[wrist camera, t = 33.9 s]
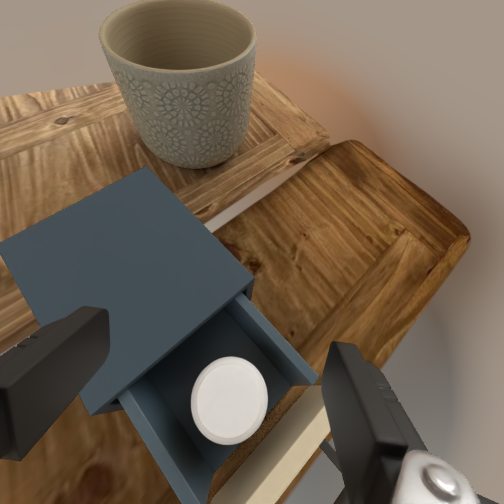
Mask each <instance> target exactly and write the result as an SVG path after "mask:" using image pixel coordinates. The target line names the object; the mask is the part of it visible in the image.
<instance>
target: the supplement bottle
mask: <svg viewBox="0 0 504 504" xmlns="http://www.w3.org/2000/svg"><path fill="white" fill-rule="evenodd" d="M267 404H268V394H267V388H266V384H265V381H264V379H263V377H262V375H261V373H260V372H259V371H258V369H257V368H256V367H255V366H254V365H253V364H251V363H250V362H248V361H247V360H244V359H242V358H239V357H223V358H220V359H217V360H215V361H213V362H212V363H210V364H209V365H208V366H207V367H205V368H204V370H203V371H202V372H201V373H200V375H199V376H198V378H197V380H196V382H195V384H194V387H193V390H192V395H191V411H192V416H193V419H194V422H195V424H196V426H197V427H198V429H199V430H200V432H201V433H202V434H203V435H204V436H205V437H206V438H208V439H209V440H211V441H213V442H215V443H218V444H222V445H233V444H237V443H240V442H242V441H244V440H246V439H248V438H249V437H250V436H251V435H253V434H254V433H255V432H256V430H257V429H258V428H259V427H260V425H261V423H262V421H263V419H264V417H265V414H266V410H267Z"/></svg>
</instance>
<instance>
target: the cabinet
mask: <svg viewBox="0 0 504 504" xmlns="http://www.w3.org/2000/svg"><path fill="white" fill-rule="evenodd" d="M0 255H1V256H2V258H3V260H4V262H5V264H6V265H7V267H8V269H9V271H10V273H11V274H12V276H13V278H14V280H15V282H16V283H17V285H18V287H19V289H20V291H21V292H22V294H23V296H24V298H25V300H26V301H27V303H28V305H29V307H30V308H31V310H32V312H33V314H34V316H35V317H36V319H37V321H38V323H39V325H40V326H41V328H42V327H43V326H45V325H47V324H50V323H52V322H54V321H57V320H59V319H62V318H66V317H67V316H69V315H70V314H71V313H73V312H74V311H76V310H77V309H78V308H80V307H82V306H89V307H96V308H103V309H107V310H108V312H109V327H110V351H109V354H108V357H107V359H106V361H105V363H104V364H103V365H102V366H101V368H100V369H99V370H98V371H97V372H96V374H95V375H94V376H93V377H92V378H91V379H90V381H89V382H88V383H87V384H86V385H85V386H84V388H83V389H82V390H81V391H80V392H79V393H78V395H79V396H80V398H81V400H82V402H83V403H84V405H85V407H86V409H87V411H88V412H89V414H90V416H92V415H97V414H102V413H108V412H113V411H118V410H123V409H124V408H123V407H122V405H121V403H120V402H119V400H118V399H117V397H118V396H119V395H120V394H122V393H123V392H124V391H125V390H126V389H128V388H129V387H130V386H131V385H132V384H133V383H135V382H136V381H137V380H138V379H139V378H141V377H142V376H143V375H144V374H145V373H146V372H148V371H149V370H150V369H151V368H152V367H154V366H155V365H156V364H157V363H158V362H159V361H161V360H162V359H163V358H164V357H165V356H167V355H168V354H169V353H170V352H171V351H173V350H174V349H175V348H176V347H177V346H178V345H180V344H181V343H182V342H183V341H184V340H186V339H187V338H188V337H189V336H190V335H191V334H193V333H194V332H195V331H196V330H197V329H199V328H200V327H201V326H202V325H203V324H204V323H206V322H207V321H208V320H209V319H210V318H212V317H213V316H214V315H215V314H216V313H217V312H219V311H220V310H221V309H222V308H223V307H225V306H226V305H227V304H228V303H229V302H230V301H232V300H233V299H234V298H235V297H236V296H238V295H239V294H240V293H241V292H242V293H243V294H244V295H245V296H246V297H247V299H248V300H249V301H251V296H252V290H253V284H254V279H255V278H254V276H253V275H252V274H251V273H250V272H249V271H248V270H247V269H246V268H245V267H244V266H243V265H242V264H241V263H240V262H239V261H238V260H237V259H236V258H235V257H234V256H233V255H232V254H231V253H230V252H229V251H228V250H227V249H226V248H225V247H224V246H223V244H222V243H221V242H220V241H219V240H218V239H217V238H216V237H215V236H214V235H213V234H212V233H211V232H210V231H209V230H208V229H207V228H206V227H205V226H204V225H203V224H202V223H201V222H200V221H199V220H198V219H197V218H196V217H195V216H194V215H193V214H192V212H191V211H190V210H189V209H188V208H187V207H186V206H185V205H184V204H183V203H182V202H181V201H180V200H179V199H178V198H177V197H176V196H175V195H174V194H173V193H172V192H171V191H170V190H169V189H168V188H167V187H166V186H165V185H164V184H163V183H162V182H161V180H160V179H159V178H158V177H157V176H156V175H155V174H154V173H153V172H152V171H151V170H150V169H149V168H148V167H147V166H145V167H143V168H141V169H139V170H138V171H136V172H134V173H132V174H130V175H128V176H126V177H124V178H122V179H120V180H119V181H117V182H115V183H113V184H111V185H109V186H107V187H105V188H103V189H101V190H99V191H98V192H96V193H94V194H92V195H90V196H88V197H86V198H84V199H82V200H80V201H79V202H77V203H75V204H73V205H71V206H69V207H67V208H65V209H63V210H61V211H59V212H58V213H56V214H54V215H52V216H50V217H48V218H46V219H44V220H42V221H40V222H39V223H37V224H35V225H33V226H31V227H29V228H27V229H25V230H23V231H21V232H20V233H18V234H16V235H14V236H12V237H10V238H8V239H6V240H4V241H2V242H0Z"/></svg>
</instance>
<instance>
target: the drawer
mask: <svg viewBox="0 0 504 504" xmlns="http://www.w3.org/2000/svg"><path fill="white" fill-rule="evenodd" d="M223 357H239V358H242V359H244V360H247V361H248V362H250V363H251V364H253V365H254V366H255V367H256V368H257V369H258V371H259V372H260V373H261V375H262V377H263V379H264V381H265V384H266V388H267V394H268V404H267V410H266V414H267V413H268V412H269V411H270V410H271V409H272V408H273V407H274V406H275V404H276V403H277V402H278V401H279V400H280V399H281V398H282V397H283V395H284V394H285V393H286V392H287V391H288V390H289V389H290V388H291V387H292V386H300V385H313V384H314V383H315V382H316V381H317V380H318V378H319V375H318V374H317V373H316V372H315V371H314V370H313V369H312V368H311V367H310V366H309V365H308V363H307V362H306V361H305V360H304V359H303V358H302V357H301V356H300V355H299V354H298V353H297V352H296V350H295V349H294V348H293V347H292V346H291V345H290V344H289V343H288V342H287V341H286V340H285V339H284V338H283V336H282V335H281V334H280V333H279V332H278V331H277V330H276V329H275V328H274V327H273V326H272V325H271V323H270V322H269V321H268V320H267V319H266V318H265V317H264V316H263V315H262V314H261V313H260V312H259V310H258V309H257V308H256V307H255V306H254V305H253V304H252V303H251V302H250V301H249V300H248V299H247V297H246V296H245V295H244V294H243V293H242V292H241V293H240V294H239V295H238V296H236V297H235V298H234V299H233V300H232V301H230V302H229V303H228V304H227V305H226V306H225V307H223V308H222V309H221V310H220V311H219V312H217V313H216V314H215V315H214V316H213V317H212V318H210V319H209V320H208V321H207V322H206V323H204V324H203V325H202V326H201V327H200V328H199V329H197V330H196V331H195V332H194V333H193V334H191V335H190V336H189V337H188V338H187V339H186V340H184V341H183V342H182V343H181V344H180V345H178V346H177V347H176V348H175V349H174V350H173V351H171V352H170V353H169V354H168V355H167V356H165V357H164V358H163V359H162V360H161V361H159V362H158V363H157V364H156V365H155V366H154V367H152V368H151V369H150V370H149V371H148V372H146V373H145V374H144V375H143V376H142V377H141V378H139V379H138V380H137V381H136V382H135V383H133V384H132V385H131V386H130V387H129V388H128V389H126V390H125V391H124V392H123V393H122V394H120V395H119V396H118V397H117V399H118V400H119V402H120V403H121V405H122V407H123V408H124V410H125V412H126V413H127V415H128V417H129V418H130V420H131V421H132V423H133V425H134V426H135V428H136V430H137V431H138V433H139V435H140V436H141V438H142V440H143V441H144V443H145V444H146V446H147V448H148V449H149V451H150V453H151V454H152V456H153V458H154V459H155V461H156V462H157V464H158V466H159V467H160V469H161V471H162V472H163V474H164V476H165V477H166V479H167V481H168V482H169V484H170V485H171V487H172V489H173V490H174V492H175V494H176V495H177V497H178V499H179V500H180V502H181V503H182V504H206V502H207V498H208V494H209V490H210V487H211V483H212V479H213V475H214V473H215V471H216V470H217V469H218V468H219V467H220V466H221V465H222V464H223V463H224V461H225V460H226V459H227V458H228V457H229V456H230V455H231V454H232V452H233V451H234V450H235V449H236V448H237V447H238V446H239V445H240V444H241V442H240V443H237V444H233V445H222V444H218V443H215V442H213V441H211V440H209V439H208V438H206V437H205V436H204V435H203V434H202V433H201V432H200V430H199V429H198V427H197V426H196V424H195V422H194V419H193V416H192V411H191V395H192V390H193V387H194V384H195V382H196V380H197V378H198V376H199V375H200V373H201V372H202V371H203V370H204V368H205V367H207V366H208V365H209V364H210V363H212V362H213V361H215V360H217V359H220V358H223ZM266 414H265V416H266ZM330 431H331V429H330V425H329V421H328V417H327V413H326V409H325V405H324V401H323V397H322V391H321V386H309V387H308V388H307V389H306V390H305V392H304V393H303V394H302V395H301V396H300V397H299V399H298V400H297V401H296V402H295V403H294V404H293V406H292V407H291V408H290V409H289V410H288V411H287V412H286V414H285V415H284V416H283V417H282V418H281V419H280V421H279V422H278V423H277V424H276V425H275V426H274V428H273V429H272V430H271V431H270V432H269V433H268V434H267V436H266V437H265V438H264V439H263V440H262V441H261V443H260V444H259V445H258V446H257V447H256V448H255V450H254V451H253V452H252V453H251V454H250V455H249V456H248V458H247V459H246V460H245V461H244V462H243V463H242V465H241V466H240V467H239V468H238V469H237V470H236V472H235V473H234V474H233V475H232V476H231V477H230V479H229V480H228V481H227V482H226V483H225V484H224V485H223V487H222V488H221V489H220V490H219V491H218V492H217V494H216V495H215V496H214V497H213V498H212V500H211V504H275V503H276V501H277V500H278V499H279V498H280V496H281V495H282V494H283V492H284V491H285V490H286V488H287V487H288V486H289V484H290V483H291V482H292V481H293V479H294V478H295V477H296V475H297V474H298V473H299V471H300V470H301V469H302V467H303V466H304V465H305V463H306V462H307V461H308V460H309V458H310V457H311V456H312V454H313V453H314V452H315V450H316V449H317V448H318V446H319V447H320V448H321V449H322V450H323V451H324V453H325V454H326V455H327V456H328V457H329V459H330V460H331V461H332V462H333V463H334V465H335V466H336V467H337V468H338V469H339V471H341V468H340V465H339V461H338V457H337V453H336V452H335V450H334V449H333V448H332V447H331V446H330V444H329V443H328V442H327V441H326V440H325V437H326V436H327V435H328V433H329V432H330ZM341 473H342V472H341ZM334 504H349V500H348V496H347V492H346V488H345V487H344V489H343V490H342V492H341V493H340V495H339V496H338V498H337V499H336V501H335V502H334Z"/></svg>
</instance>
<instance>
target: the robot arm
mask: <svg viewBox="0 0 504 504" xmlns="http://www.w3.org/2000/svg"><path fill="white" fill-rule="evenodd" d="M109 351H110V327H109V312H108V310H107V309H103V308H96V307H89V306H82V307H80V308H78V309H77V310H76V311H74V312H73V313H71V314H70V315H69V316H67V317H66V318H62V319H59V320H57V321H54V322H52V323H50V324H47V325H45V326H43V327H42V328H41V329H39V330H38V331H36V332H35V333H33V334H32V335H30V338H26V339H25V340H23V341H22V342H20V343H19V344H17V347H13V348H11V349H10V350H9V351H7V352H6V353H4V354H3V355H1V356H0V459H8V460H15V461H21V460H22V459H23V458H24V457H25V456H26V454H27V453H28V452H29V451H30V450H31V449H32V447H33V446H34V445H35V444H36V443H37V442H38V440H39V439H40V438H41V437H42V436H43V435H44V433H45V432H46V431H47V430H48V429H49V427H50V426H51V425H52V424H53V423H54V422H55V420H56V419H57V418H58V417H59V416H60V415H61V413H62V412H63V411H64V410H65V409H66V408H67V406H68V405H69V404H70V403H71V402H72V400H73V399H74V398H75V397H76V396H77V395H78V393H79V392H80V391H81V390H82V389H83V388H84V386H85V385H86V384H87V383H88V382H89V381H90V379H91V378H92V377H93V376H94V375H95V374H96V372H97V371H98V370H99V369H100V368H101V366H102V365H103V364H104V363H105V361H106V359H107V357H108V354H109ZM321 391H322V397H323V401H324V405H325V409H326V413H327V417H328V421H329V425H330V429H331V433H332V437H333V441H334V444H335V449H336V453H337V457H338V461H339V465H340V468H341V472H342V476H343V480H344V484H345V488H346V492H347V496H348V500H349V504H498V503H496V502H494V501H492V500H490V499H487V498H485V497H483V496H481V495H479V494H476V492H475V491H474V489H473V487H472V486H471V485H470V483H469V482H468V481H467V480H466V478H465V477H464V476H463V475H462V474H461V473H460V472H459V471H458V470H457V469H456V468H454V467H453V466H452V465H451V464H450V463H448V462H447V461H445V460H444V459H442V458H440V457H439V456H437V455H435V454H433V453H430V452H428V450H427V448H426V446H425V445H424V443H423V441H422V440H421V438H420V436H419V434H418V433H417V431H416V429H415V428H414V426H413V424H412V423H411V421H410V419H409V417H408V416H407V414H406V412H405V410H404V409H403V407H402V406H401V404H400V402H398V399H397V397H396V395H395V393H394V392H393V390H391V387H390V385H389V383H388V381H387V380H386V378H385V376H384V374H383V373H382V372H381V371H380V370H379V369H378V368H377V367H376V366H374V365H373V364H372V363H371V362H369V361H364V359H363V357H362V355H361V353H360V351H359V350H358V348H357V346H356V345H355V344H350V343H343V342H336V341H333V342H332V343H331V345H330V348H329V352H328V356H327V359H326V363H325V367H324V371H323V375H322V381H321Z"/></svg>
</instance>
